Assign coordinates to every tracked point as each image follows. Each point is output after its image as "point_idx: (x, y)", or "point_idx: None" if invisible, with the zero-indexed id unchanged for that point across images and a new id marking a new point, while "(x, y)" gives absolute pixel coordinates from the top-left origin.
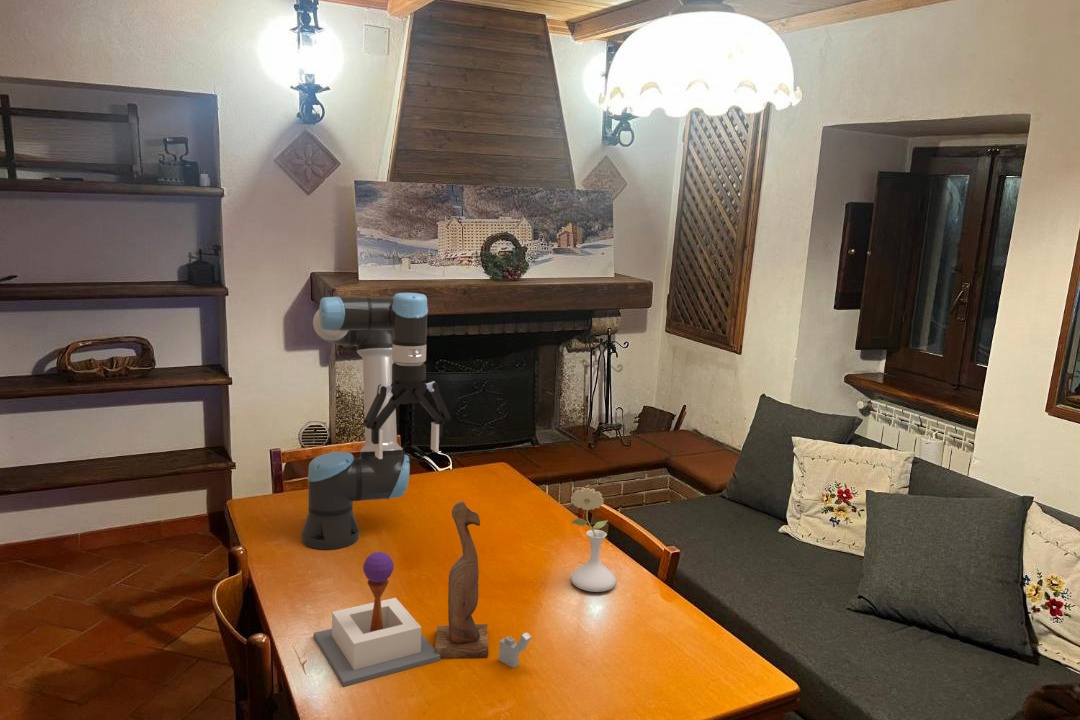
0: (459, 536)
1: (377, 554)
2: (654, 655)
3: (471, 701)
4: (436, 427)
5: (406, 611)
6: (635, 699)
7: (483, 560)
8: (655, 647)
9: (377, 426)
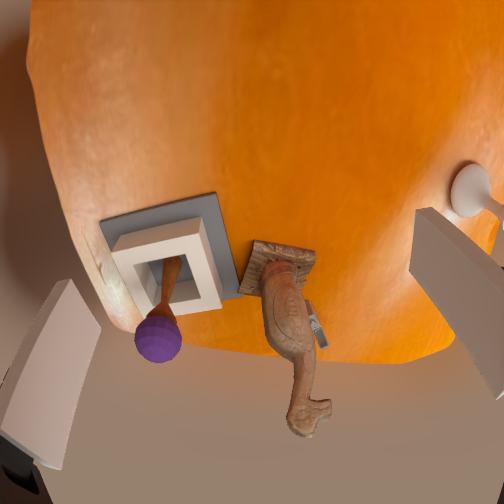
0: (294, 382)
1: (153, 359)
2: (420, 313)
3: (253, 345)
4: (489, 384)
5: (209, 272)
6: (369, 354)
7: (387, 55)
8: (429, 304)
9: (29, 487)
